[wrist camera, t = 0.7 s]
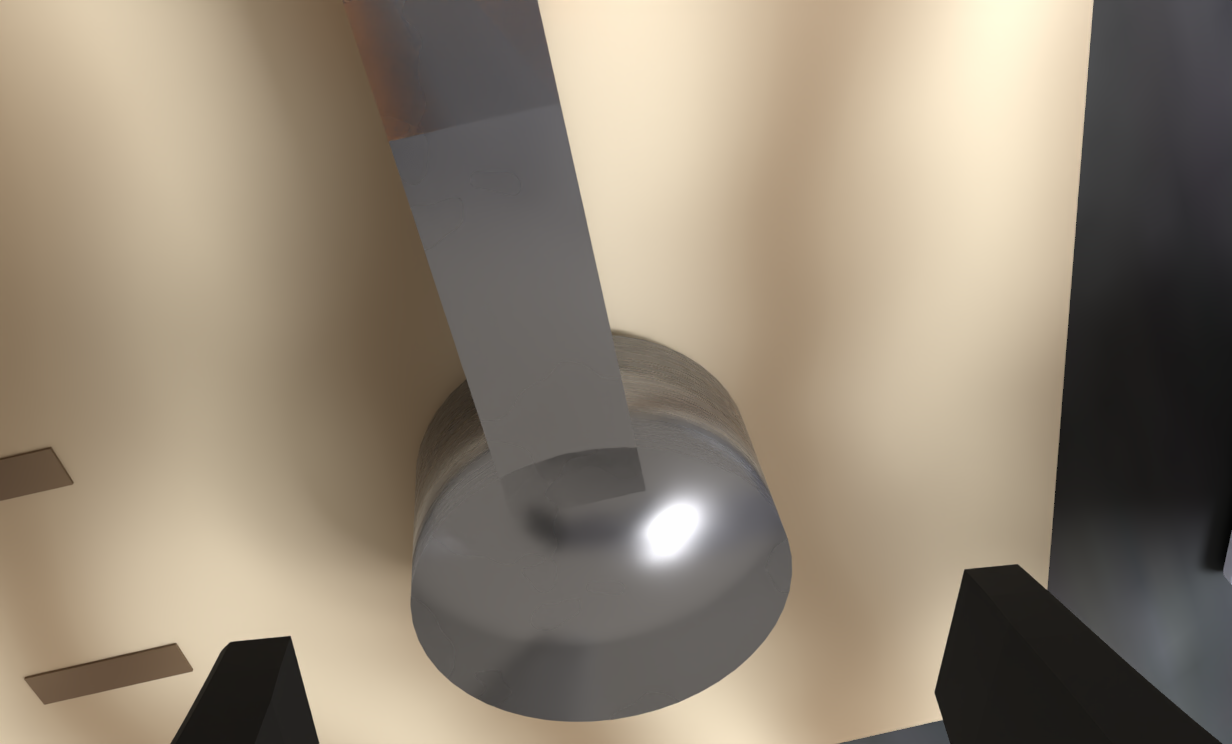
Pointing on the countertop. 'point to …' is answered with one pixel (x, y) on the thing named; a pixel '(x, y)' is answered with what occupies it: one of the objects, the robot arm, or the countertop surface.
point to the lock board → (431, 368)
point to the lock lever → (555, 408)
